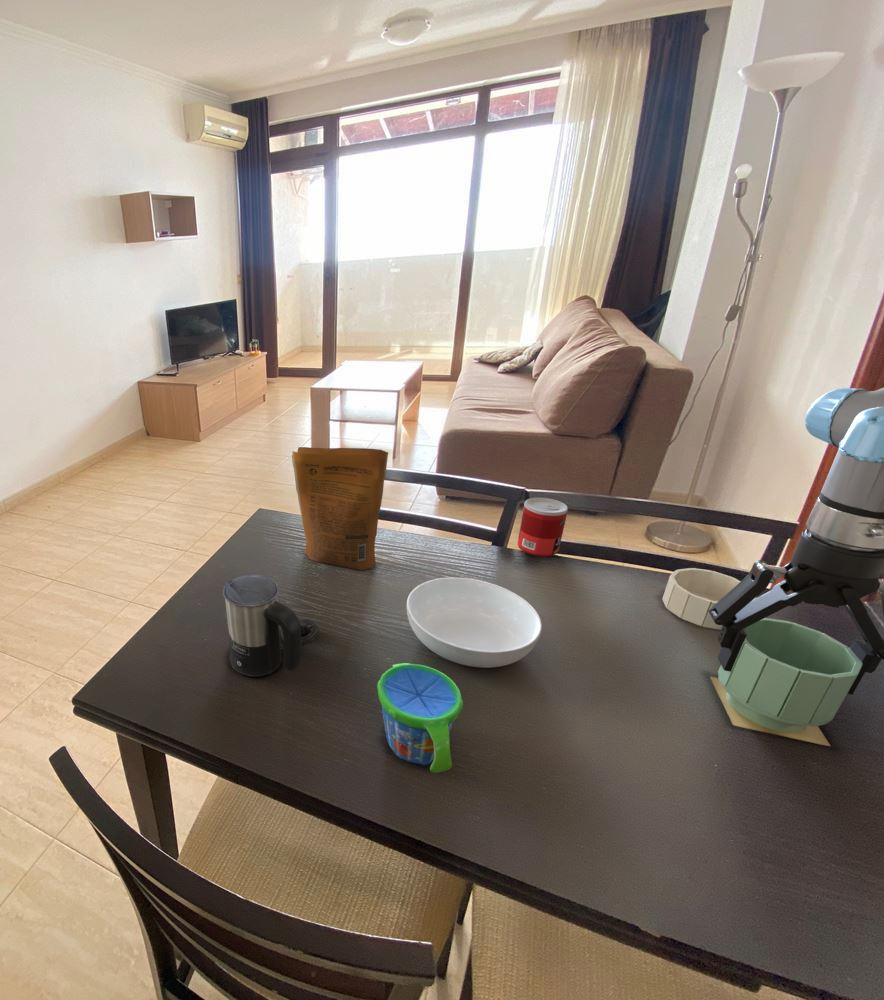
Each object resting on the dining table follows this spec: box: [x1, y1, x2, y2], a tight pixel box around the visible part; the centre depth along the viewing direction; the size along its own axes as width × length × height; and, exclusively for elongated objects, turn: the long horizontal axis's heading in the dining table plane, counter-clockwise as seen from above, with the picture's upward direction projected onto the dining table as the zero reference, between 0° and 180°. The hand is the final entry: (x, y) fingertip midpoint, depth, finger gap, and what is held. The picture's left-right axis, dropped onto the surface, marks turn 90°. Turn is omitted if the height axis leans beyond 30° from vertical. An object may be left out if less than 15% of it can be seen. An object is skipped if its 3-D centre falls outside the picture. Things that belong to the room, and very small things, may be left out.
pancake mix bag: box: [291, 446, 389, 571], centre depth 114 cm, size 7×19×28 cm, turn 62°
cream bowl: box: [662, 567, 758, 631], centre depth 95 cm, size 11×11×6 cm
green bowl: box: [717, 617, 863, 733], centre depth 74 cm, size 12×12×12 cm
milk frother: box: [222, 574, 321, 678], centre depth 93 cm, size 14×16×15 cm
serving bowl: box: [406, 577, 543, 669], centre depth 93 cm, size 21×21×7 cm
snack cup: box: [376, 662, 464, 774], centre depth 74 cm, size 16×10×10 cm
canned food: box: [517, 497, 569, 558], centre depth 116 cm, size 8×8×11 cm
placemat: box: [709, 676, 831, 747], centre depth 77 cm, size 10×10×1 cm
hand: (781, 675), depth 74 cm, fingers closed on green bowl, 12 cm apart
